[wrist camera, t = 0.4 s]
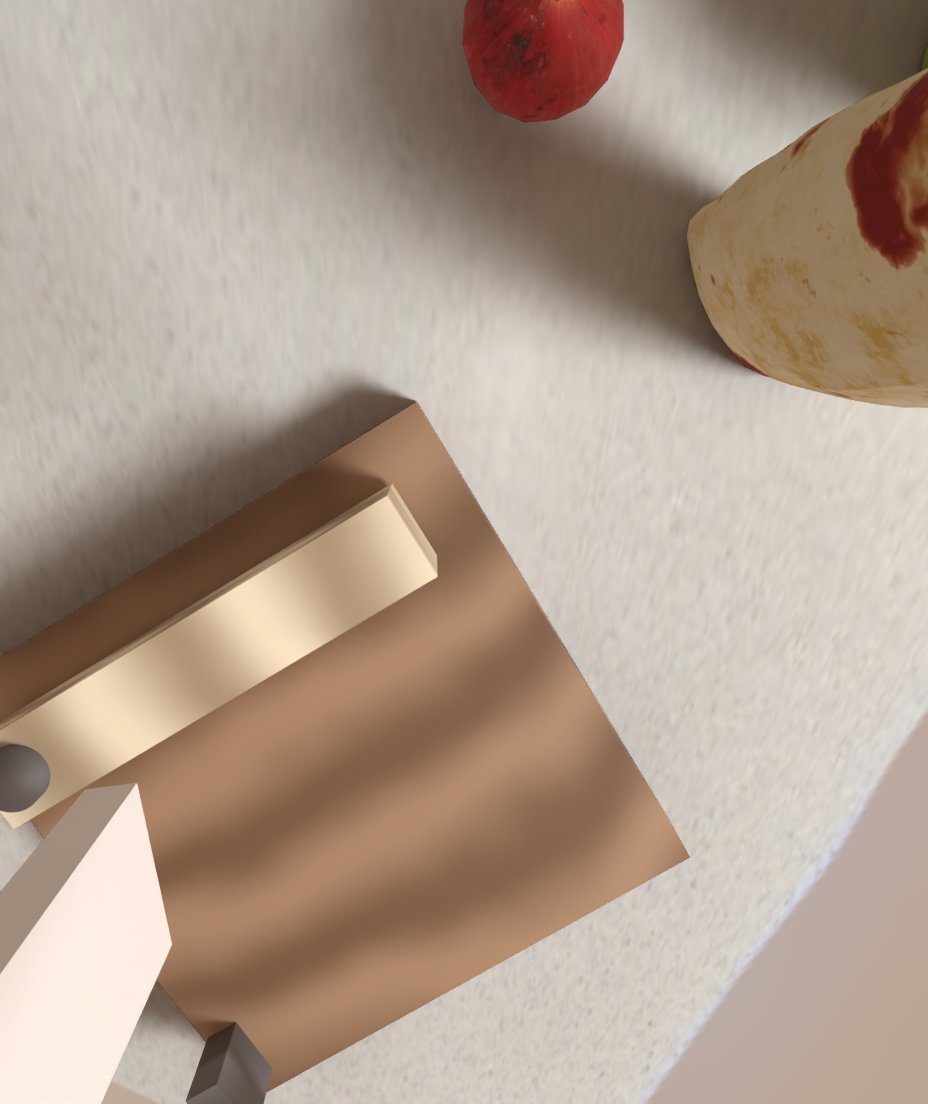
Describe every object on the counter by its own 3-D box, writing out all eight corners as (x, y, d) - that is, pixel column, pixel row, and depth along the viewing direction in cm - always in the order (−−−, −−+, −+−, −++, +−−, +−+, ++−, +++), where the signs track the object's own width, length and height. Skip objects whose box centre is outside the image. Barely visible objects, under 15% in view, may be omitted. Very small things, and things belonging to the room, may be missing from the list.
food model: (629, 264, 35) (874, 111, 16) (751, 156, 35) (1166, -143, 15) (762, 436, 37) (1134, 492, 17) (881, 337, 36) (1406, 279, 17)
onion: (528, 176, 35) (556, 115, 27) (430, 69, 34) (429, -28, 26) (628, 71, 34) (688, -24, 26) (532, -42, 33) (563, -176, 25)
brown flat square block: (-28, 674, 38) (-121, 732, 31) (417, 401, 36) (413, 404, 30) (264, 1051, 42) (234, 1168, 36) (671, 823, 41) (716, 904, 34)
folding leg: (60, 780, 35) (4, 838, 31) (9, 715, 35) (-55, 765, 30) (436, 555, 34) (437, 581, 29) (392, 482, 33) (385, 498, 29)
